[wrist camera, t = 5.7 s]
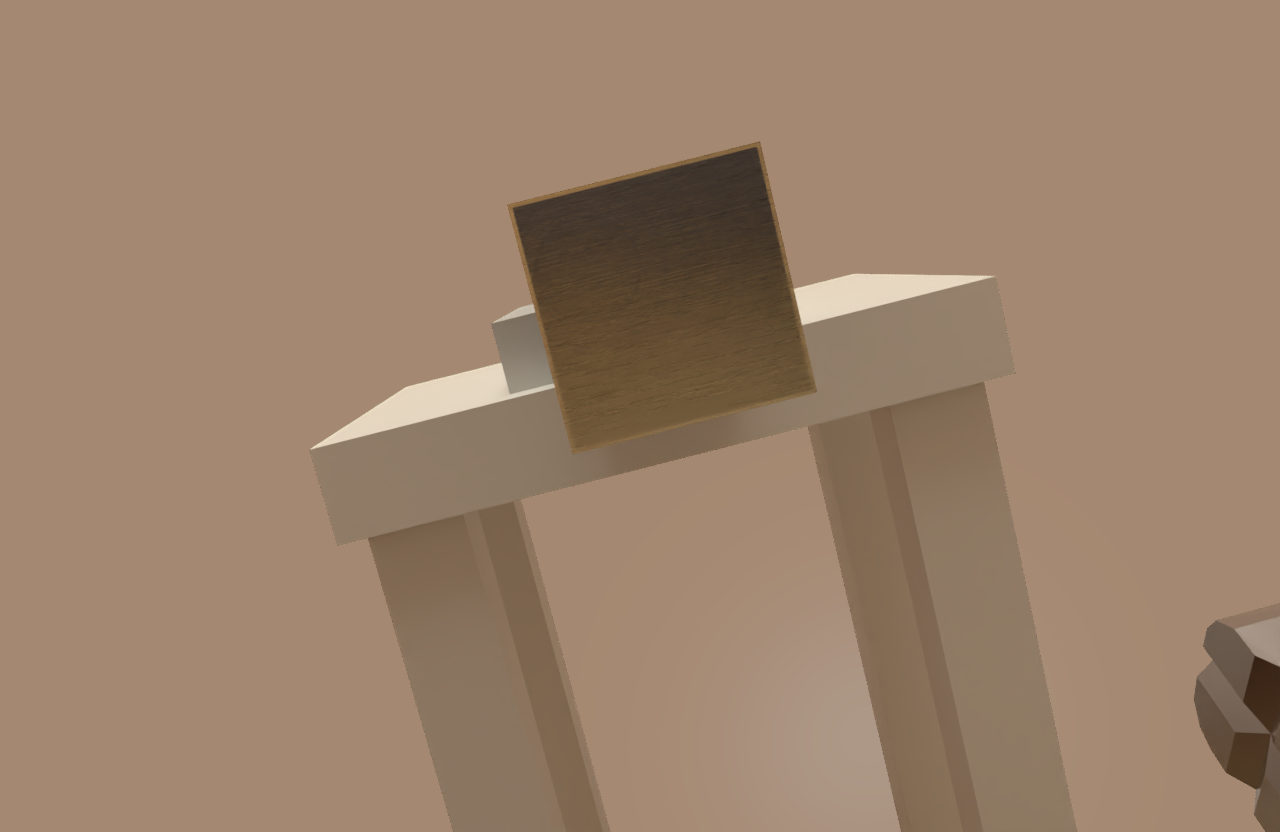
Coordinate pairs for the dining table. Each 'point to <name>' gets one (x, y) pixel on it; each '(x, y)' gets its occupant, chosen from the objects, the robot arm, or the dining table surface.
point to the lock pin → (664, 297)
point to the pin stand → (836, 418)
